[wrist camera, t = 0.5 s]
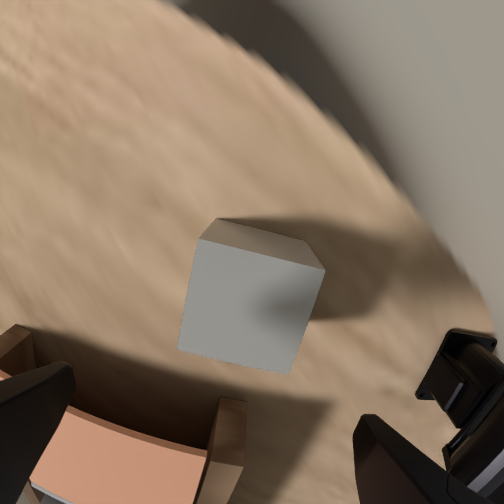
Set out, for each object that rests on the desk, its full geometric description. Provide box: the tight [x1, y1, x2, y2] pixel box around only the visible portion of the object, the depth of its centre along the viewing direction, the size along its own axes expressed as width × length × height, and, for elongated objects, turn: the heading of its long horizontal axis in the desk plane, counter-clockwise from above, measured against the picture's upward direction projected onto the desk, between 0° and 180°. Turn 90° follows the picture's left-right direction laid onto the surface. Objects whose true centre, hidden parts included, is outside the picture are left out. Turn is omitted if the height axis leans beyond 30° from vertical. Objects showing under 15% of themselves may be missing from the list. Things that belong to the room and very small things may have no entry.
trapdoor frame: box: [0, 324, 247, 504], centre depth 21 cm, size 21×25×6 cm
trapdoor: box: [0, 370, 207, 504], centre depth 18 cm, size 16×22×5 cm
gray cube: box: [177, 218, 326, 375], centre depth 17 cm, size 6×6×6 cm
